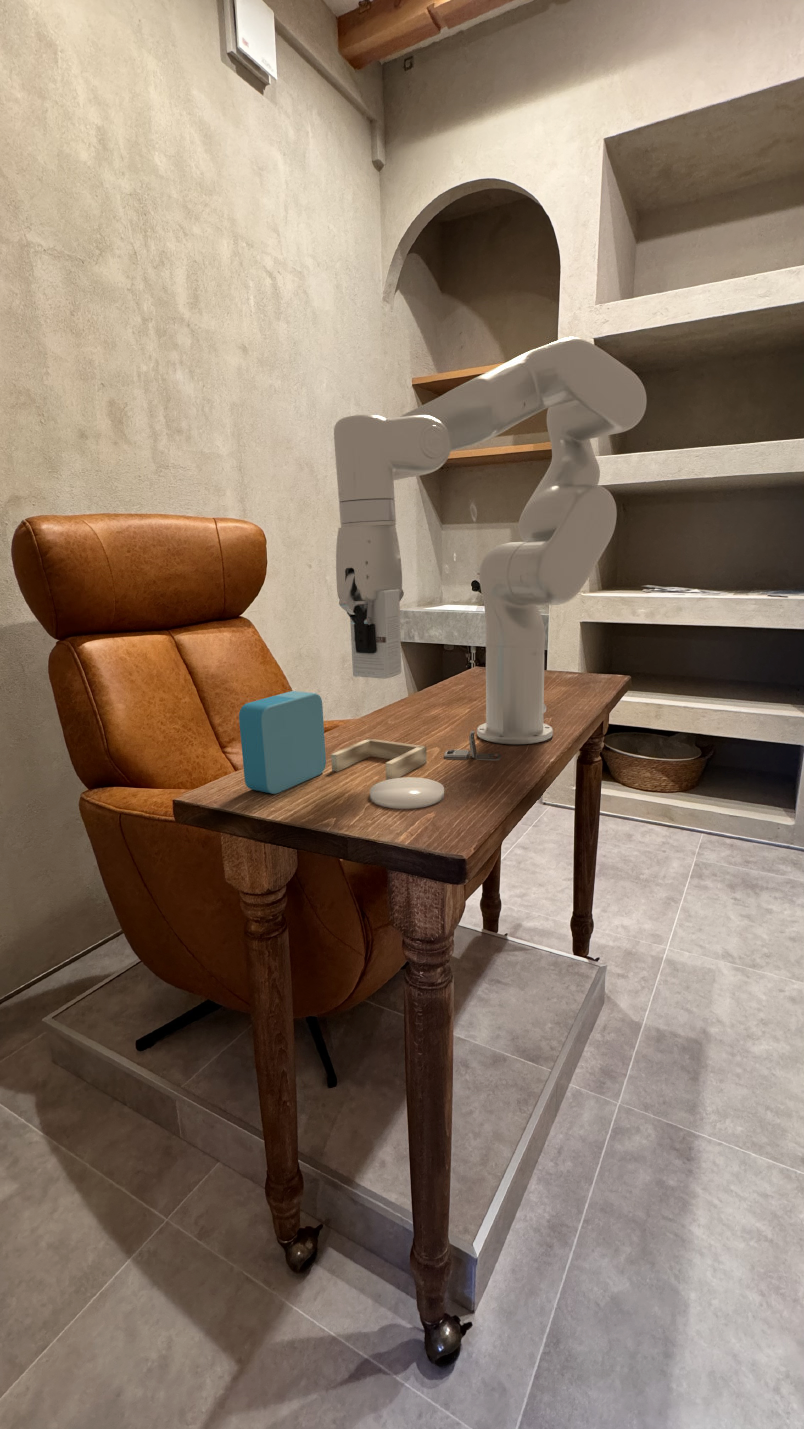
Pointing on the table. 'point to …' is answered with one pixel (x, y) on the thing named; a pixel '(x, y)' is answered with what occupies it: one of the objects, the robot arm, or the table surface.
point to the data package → (282, 741)
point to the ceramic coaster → (407, 793)
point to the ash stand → (382, 756)
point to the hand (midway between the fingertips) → (376, 648)
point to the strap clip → (466, 753)
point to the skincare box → (381, 639)
